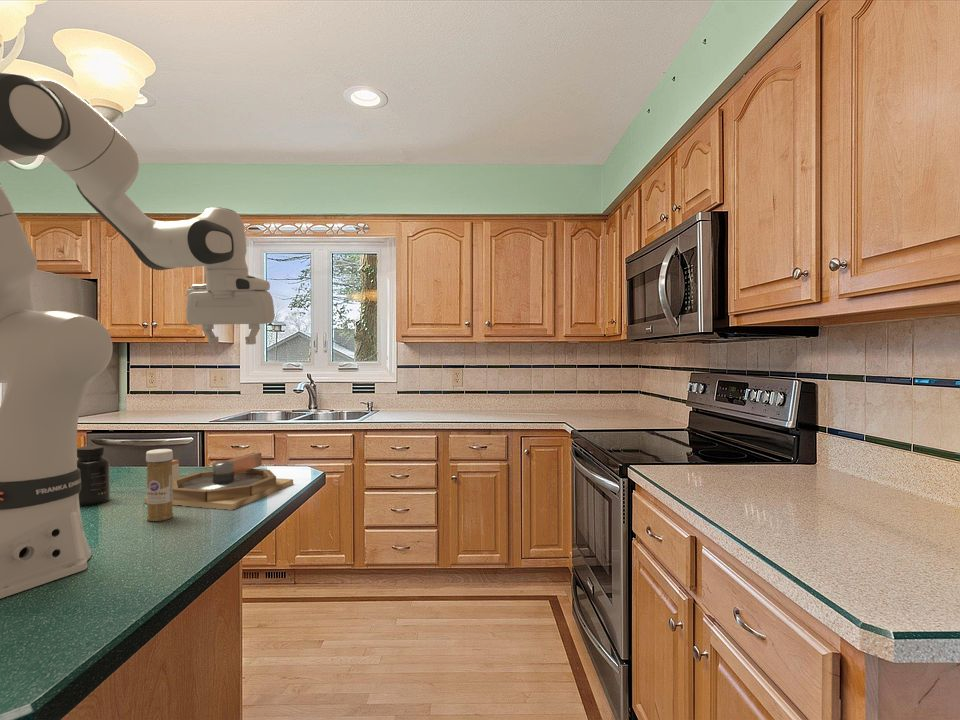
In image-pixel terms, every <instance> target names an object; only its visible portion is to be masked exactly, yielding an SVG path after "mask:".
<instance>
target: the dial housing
mask: <svg viewBox="0 0 960 720" xmlns="http://www.w3.org/2000/svg"><path fill="white" fill-rule="evenodd" d="M241 473H251V474H257V475H260V476H262V477H263V480H260V481H257V482H255V483H252V484H249V485H245V486H237V487H229V488H221V489H213V490H200V489H186V488H181V485H182V484H183V483H185V482H187V481H189V480H192V479H195V478H200V477H204V476H210V475H213V470H206V471H199V472H194V473H191V474H187V475H184V476H179V478H177V479H173V480H172V487H173V500H172V506H174V505H182V506H181V507H186V506H191V507H190V508H199V507H202V508H203V509H212V508H216V509H215V510H224V509H227V510H228V511H234V510H236V509H238V508H240V507H243V506H245V505H247V504H250V503H252V502H255V501H257V500H260V499H262V498H265V497H266V496H268V495H272V494H273V493H275V492H278V491H280V490H283V489H285V488H288V487H291V486H292V485H294V479H292V478H277V476H276V475H275V474H274V473H273V471H272V470H270V469H265V468H262V469H261V468H253V469H250V470H247V471H244V472H241ZM143 501H144V504H147V496H146V497H143ZM202 508H201V509H202ZM233 509H234V510H233Z"/></svg>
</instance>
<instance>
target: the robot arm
mask: <svg viewBox="0 0 960 720" xmlns="http://www.w3.org/2000/svg"><path fill="white" fill-rule="evenodd" d="M41 155H44V156H45V157H47V158H48V159H49V160H50V161H51V162H52V163H53V164H55V165H56V166H57V167H58V168H59V169H60V170H62V171H63V173H65V174H66V175H67V176H68V177H69V178H71V179H72V180H73V182H75V185H76V188H77V189H78V192H79V194H80V195H81V197H82V198H83V199H84V200H85V201H86V202H87V203H88V204H89V205H90V206H91V208H92V209H94V211H96V213H98V215H100V217H102V218H103V219H104V220H105V221H106V222H107V223H108V224H109V225H110V226H111V227H112V228H113V230H115V231H116V232H117V233H119V235H121V237H123V239H124V240H125V241H126V243H128V244H129V246H130V247H131V249H132V250H133V251H134V253H135V254H136V256H137V257H138V259H139V260H140V261H141V262H142V263H143V264H144V265H145V266H147V267H148V268H150V269H152V270H155V271H165V270H170V269H171V270H173V269H177V268H194V267H195V268H196V267H204V275H205V276H204V277H205V283H202V284H198V283H196V284H195V283H194V284H192V285H191V286H189V287H188V289H187V290H186V296H187V297H186V309H185V310H186V311H185V315H186V317H185V318H186V321H187V323H188V324H189V325H191V326H196V325H197V326H199V325H200V326H201V328H202V331H203V332H204V334H205V336H206V337H207V341H208V342H207V343H208V345H209V346H215V345H219V344H220V341H219V339H220V337H219V336H216V335H215V333H214V331H213V330H214V329H215V327H214V325H248V329H249V330H250V331H249V334H248V336H245V338H244V339H245V345H256V344H257V335H258V333H259V331H260V329H261V326H260V325H265V324H267V325H268V324H272V323H274V320H275V305H274V300H273V297H272V294H271V293H270V292H269V290H270V287H271V284H270V281H268V280H265V279H263V278H259V277H256V276H253V275H251V274H249V268H248V265H247V262H246V255H247V239H246V233H245V226H244V223H243V220H242V217H241V215H240V214H239V213H238V212H237V211H234V210H232V209H229V208H224V207H221V206H219V207H217V206H216V207H215V206H212V207H207V208H205V209H204V210H203V212H202V213H201V214H199V215H197V216H195V217H192V218H189V219H181V220H171V221H170V220H169V221H163V220H156V219H153V218H150V217H148V215H146V214H145V213H144V212H143V211H142V210H141V209H140V208H139V206H138V205H136V203H135V202H134V201H133V200H132V199H131V198H130V197H129V196H128V195H127V194H126V192H128V191H129V189H130V188H131V187H132V185H133V183H134V182H135V181H136V179H137V176H138V173H139V167H140V164H139V157H138V156H139V155H138V153H137V152H136V150H135V149H134V147H133V146H132V144H131V143H130V141H129V140H128V139H127V137H124V135H123V134H122V133H121V132H120V131H119V130H118V129H117V128H116V127H115V126H114V125H113V124H112V123H111V122H110V121H108V120H107V119H106V118H105V117H104V116H103V115H102V114H101V113H100V112H99V111H97V110H96V109H95V108H94V107H93V106H91V104H89V103H88V102H86V101H85V100H84V99H83V98H81V97H80V96H79V95H77V94H76V93H75V92H73V91H72V90H70V89H69V88H67V87H66V86H65V85H63V84H62V83H61V82H58V81H56V80H53V79H49V78H38V79H33V78H30V77H28V76H25V75H22V74H17V73H12V72H5V71H4V72H0V163H1V162H9V161H14V160H15V161H16V160H19V159H22V158H26V157H36V156H41ZM37 270H38V260H37V257H36V255H35V253H34V250H33V249H32V246H31V244H30V241H29V240H28V238H27V236H26V232H25V231H24V229H23V227H22V224H21V223H20V221H19V218H18V217H17V214H16V212H15V210H14V208H13V205H12V203H11V202H10V200H9V197H8V196H7V194H6V192H5V190H4V188H3V186H2V185H1V183H0V384H6V391H5V394H4V397H3V400H2V402H1V405H0V599H5V597H10V596H11V595H15V594H18V593H22V592H24V591H28V590H30V589H34V588H36V587H38V586H41V585H44V584H47V583H50V582H53V581H55V580H59V579H62V578H65V577H68V576H70V575H74V574H77V573H79V572H83V571H85V570H86V569H87V568H88V560H89V559H90V558H91V557H92V554H93V553H92V551H91V548H90V546H89V543H88V539H87V537H86V533H85V530H84V525H83V519H82V513H81V508H80V507H81V506H80V505H79V494H80V491H81V473H80V469H79V468H77V460H78V458H77V449H78V423H79V416H80V412H81V408H82V405H83V403H84V400H85V396H86V394H87V392H88V391H89V388H90V386H91V384H92V383H93V382H94V380H95V379H96V378H97V377H98V376H100V375H101V373H102V372H104V371H105V370H106V368H107V367H108V365H109V364H110V361H111V360H112V356H113V351H114V350H113V349H114V346H113V340H112V337H111V334H110V333H109V331H108V329H107V328H106V327H105V325H104V324H102V323H101V321H98V320H97V319H95V318H94V317H91V316H87V315H83V314H79V313H75V312H70V311H64V310H44V311H39V310H38V311H37V310H36V308H35V307H34V305H33V304H34V303H33V301H32V296H31V280H32V277H33V276H34V275H35V274H36V272H37Z"/></svg>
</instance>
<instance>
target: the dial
mask: <svg viewBox="0 0 960 720" xmlns="http://www.w3.org/2000/svg"><path fill="white" fill-rule="evenodd" d="M262 463H263V462H262V453H261V452H251V453H248V454H244V455H240V456H237V457H234V458H230V459H226V460H220V461H215V462H213V463H212V466H211V467H212V471H213V475H210V476H204V477H200V478H195V479H192V480H189V481H187V482H185V483H183V484H182V485H181V488H186V489H200V490H213V489H221V488H229V487H237V486H245V485H249V484H252V483H255V482H257V481H260V480H263V477H262V476H260V475H257V474H251V473H241V472H244V471H247V470H250V469H257V468H258V467H262V465H263V464H262Z"/></svg>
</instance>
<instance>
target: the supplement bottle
mask: <svg viewBox="0 0 960 720" xmlns="http://www.w3.org/2000/svg"><path fill="white" fill-rule="evenodd" d="M104 449H105V448H104V446H103V445H87V446H81V447H77V468H79V469H80V473H81V491H80V494H79V505H80V507H89V506H96V505H101V504H104V503H106V502H108V501H109V500H110V498H111V483H110V482H111V480H110V479H111V476H110V472H111V471H110V469H111V468H110V466H111V465H110V461H109V460H108V458H105V457H104V455H105V452H104Z"/></svg>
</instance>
